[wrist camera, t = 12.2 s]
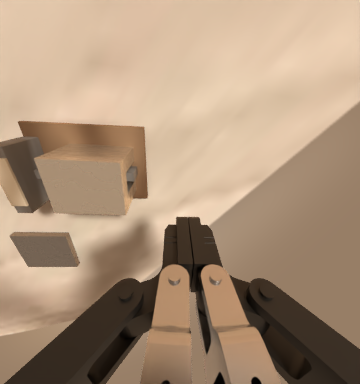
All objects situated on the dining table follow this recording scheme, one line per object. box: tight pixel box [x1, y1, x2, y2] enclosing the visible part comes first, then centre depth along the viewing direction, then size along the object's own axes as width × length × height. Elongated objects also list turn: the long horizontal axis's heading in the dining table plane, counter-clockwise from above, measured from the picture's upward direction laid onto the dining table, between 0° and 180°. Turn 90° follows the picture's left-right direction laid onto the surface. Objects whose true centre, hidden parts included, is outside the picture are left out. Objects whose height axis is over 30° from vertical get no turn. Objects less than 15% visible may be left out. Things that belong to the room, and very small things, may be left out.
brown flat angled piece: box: [10, 232, 80, 267], centre depth 26 cm, size 8×7×1 cm
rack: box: [0, 121, 148, 213], centre depth 18 cm, size 13×9×5 cm
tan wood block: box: [34, 144, 136, 215], centre depth 18 cm, size 7×6×6 cm
